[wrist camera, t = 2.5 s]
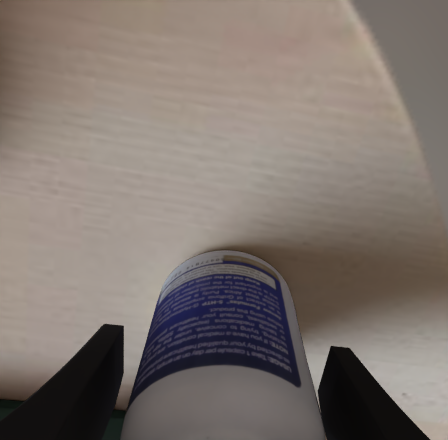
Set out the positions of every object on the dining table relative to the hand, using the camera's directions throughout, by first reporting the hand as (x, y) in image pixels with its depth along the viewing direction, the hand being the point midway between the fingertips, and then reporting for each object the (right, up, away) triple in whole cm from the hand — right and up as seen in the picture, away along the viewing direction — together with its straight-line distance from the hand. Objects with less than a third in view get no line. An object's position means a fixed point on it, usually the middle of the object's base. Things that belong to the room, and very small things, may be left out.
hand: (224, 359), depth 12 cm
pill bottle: (0, +1, +3) cm, 3 cm away
